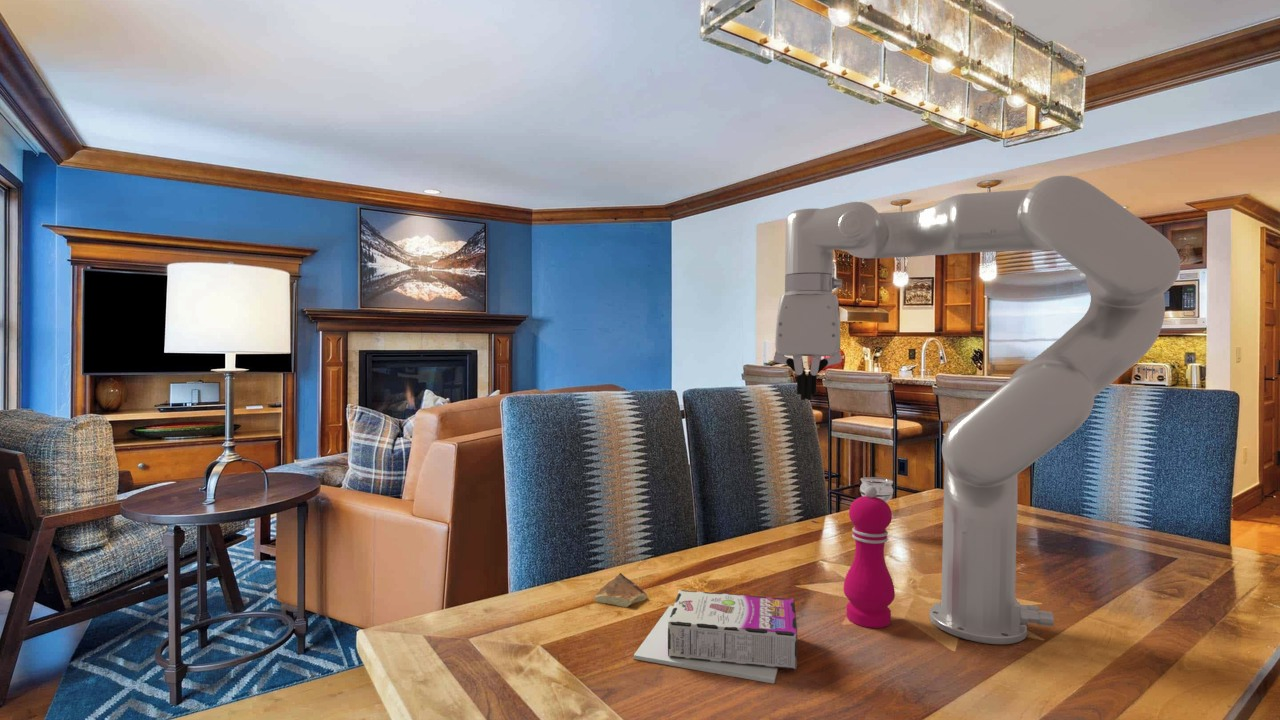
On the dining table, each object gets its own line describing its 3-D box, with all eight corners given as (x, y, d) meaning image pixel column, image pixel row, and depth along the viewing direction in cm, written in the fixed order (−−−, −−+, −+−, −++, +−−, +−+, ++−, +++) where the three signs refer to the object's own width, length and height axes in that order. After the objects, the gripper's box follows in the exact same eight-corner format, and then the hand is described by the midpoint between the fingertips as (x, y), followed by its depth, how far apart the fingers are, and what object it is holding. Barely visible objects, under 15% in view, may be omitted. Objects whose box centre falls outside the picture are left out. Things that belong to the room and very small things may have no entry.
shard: (620, 581, 113) (620, 571, 113) (661, 588, 110) (661, 577, 110) (592, 604, 103) (592, 593, 103) (636, 612, 100) (636, 601, 100)
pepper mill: (888, 634, 92) (891, 494, 91) (837, 622, 96) (839, 487, 95) (898, 616, 98) (901, 485, 97) (849, 605, 102) (852, 479, 101)
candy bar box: (794, 633, 91) (678, 621, 94) (795, 598, 91) (679, 587, 94) (797, 673, 80) (665, 658, 83) (798, 633, 80) (666, 619, 83)
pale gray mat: (788, 626, 94) (788, 622, 94) (774, 683, 78) (774, 679, 78) (669, 608, 100) (669, 605, 100) (633, 659, 84) (633, 655, 84)
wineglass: (897, 540, 136) (898, 483, 136) (865, 540, 136) (866, 483, 136) (885, 531, 143) (886, 477, 143) (854, 530, 143) (855, 476, 143)
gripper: (856, 288, 107) (854, 399, 107) (765, 289, 111) (763, 396, 112) (856, 284, 99) (854, 403, 100) (758, 285, 104) (757, 399, 105)
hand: (806, 399), depth 106 cm, fingers closed
